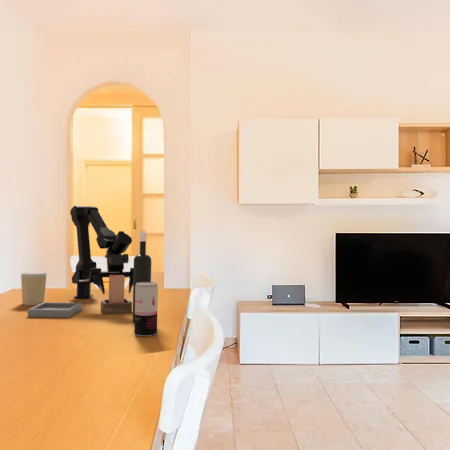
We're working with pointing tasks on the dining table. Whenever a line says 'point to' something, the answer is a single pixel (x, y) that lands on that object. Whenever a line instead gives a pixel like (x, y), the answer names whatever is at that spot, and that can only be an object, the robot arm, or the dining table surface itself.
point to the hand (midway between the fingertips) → (116, 293)
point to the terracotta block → (116, 288)
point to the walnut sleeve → (116, 307)
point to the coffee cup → (33, 287)
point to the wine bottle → (141, 267)
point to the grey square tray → (54, 309)
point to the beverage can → (146, 308)
